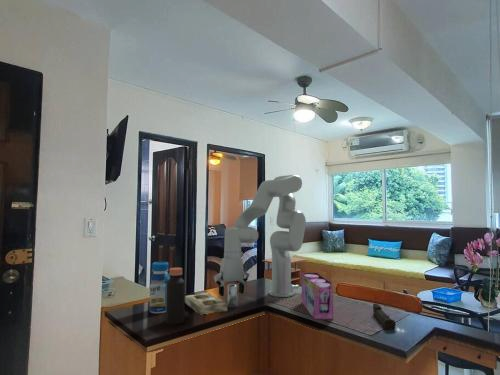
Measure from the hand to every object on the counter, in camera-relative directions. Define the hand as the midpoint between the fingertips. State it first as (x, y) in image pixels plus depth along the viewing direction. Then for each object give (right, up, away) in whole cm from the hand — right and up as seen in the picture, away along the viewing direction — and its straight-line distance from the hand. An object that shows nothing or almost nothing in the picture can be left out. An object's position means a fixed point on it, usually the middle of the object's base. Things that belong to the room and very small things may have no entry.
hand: (231, 294), depth 141 cm
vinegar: (-20, -4, -20) cm, 29 cm away
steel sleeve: (+1, -5, 0) cm, 5 cm away
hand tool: (+58, -4, -19) cm, 62 cm away
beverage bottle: (-30, -5, -7) cm, 31 cm away
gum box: (+37, -5, -6) cm, 37 cm away
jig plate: (-12, -5, -1) cm, 13 cm away
